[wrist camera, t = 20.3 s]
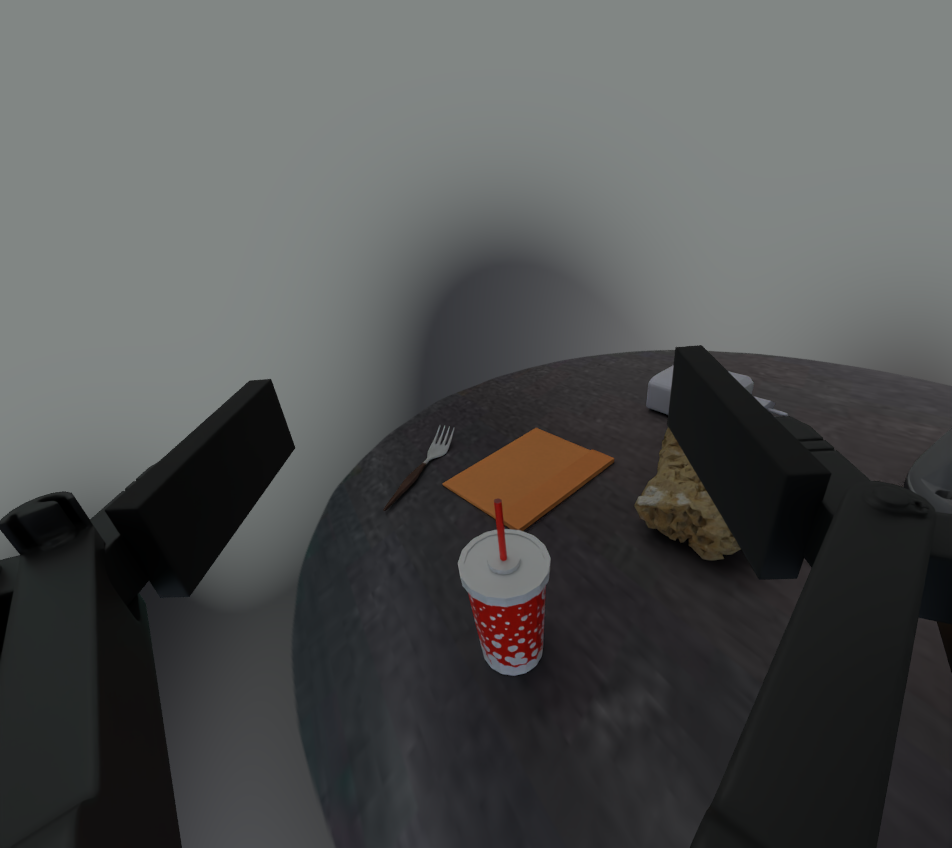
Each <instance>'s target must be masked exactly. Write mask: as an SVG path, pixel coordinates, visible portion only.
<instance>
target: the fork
mask: <svg viewBox="0 0 952 848" xmlns="http://www.w3.org/2000/svg"><path fill="white" fill-rule="evenodd" d="M440 426H441V425H440ZM440 426H439V429H440ZM439 429H438V431H437V434H436V436H435V438H434V441H433V443H432V445H431V446H430V448H429V450H428V454H427V455H428V457H427V459H426V460H425V461H424V462H423V463H422V464H421V465H420V466H419V467H417V468H416V469H415V470H414V471H413V472H412V473H411V474H410V475H409V476H408V477H407V478H406V479H405V480H404V481H403V483H402V484H401V485H400V487H399V488H398V490H397V491H396V493H395V494H394V495H393V497H392V498H391V499H390V501H389V502H388V503H387V505H386V506H385V508H384V510H383V511H385V510H387V509H388V508H389V507H390V506H391V505H392V504H393V503H394V502H395V501H396V500H397V499H398V498H399V497H400V496H401V495H402V494H403V493H404V492H405V491H406V490H407V489H408V488H410V487H411V486H412V485H413V483H414V482H415V481H416V480H417V478H418V477H419V475H420V474H421V472H422V471H423V469H424V467H425V466H426V464H427V463H428V462H429V461H430V460H431V459H434V458H438V457H441V456H443V455H445V454H446V453H447V451H448V449H449V446H450V443H451V440H452V436H453V432H454V429H455V427H454V428H453V431H452V434H451V436H450V439H449V441H448V443H447V445H446V446H445V443H446V439H447V436H448V432H449V429H450V426H449V428H448V431H447V434H446V436H445V439H444V441H443V443H442V445H440V443H441V439H442V436H443V433H444V429H445V426H444V428H443V431H442V434H441V436H440V438H439V441H438V443H437V444H435V443H436V439H437V436H438V433H439Z"/></svg>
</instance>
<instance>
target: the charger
mask: <svg viewBox="0 0 952 848" xmlns="http://www.w3.org/2000/svg"><path fill="white" fill-rule="evenodd" d="M673 367H674V365H673V366H671V367H670V368H668V369H666V370H664V371H662V372H661V373H659V374H657V375H655V376H654V377H653V378H652V379H651V380H650V382H649V384H648V392H647V403H646V406H647V408H650V409H653V410H656V411H659V412H661V413H664V414H667V415H668V412H669V403H670V394H671V385H672V376H673ZM728 372H729V371H728ZM729 373H730V374H731V375H732V376H733V377H734V378H735V379H736V380H737V381H738V382H739V383H740V384H741V385H742V386H743V387H744V388H745V389H746V390H747V391H748V392H749V393H750V394H751V395H752V390H753V386H754V383H753V381H752V380H751V378H750V377H748V376H745V375H741V374H737V373H733V372H729ZM755 398H756V399H757V400H758V401H759V402H760V403H761V404H762V405H763V406H764V407H765V408H766V409H767V410H768V411H769V412H770V413H775V414H778V415H782V416H787V415H788V413H785V412H781V411H778V410H775V409H773V408H774V406H775V402H772V401H769V400H765V399H761V398H758V397H755Z"/></svg>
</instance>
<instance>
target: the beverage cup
mask: <svg viewBox="0 0 952 848" xmlns="http://www.w3.org/2000/svg"><path fill="white" fill-rule="evenodd" d="M494 507H495V516H496V526H497V530H494V531H489V532H485V533H484V534H482V535H480V536H478V537H476V538H474V539H472V540H471V541H470V542H469V543H468V545H467V546H466V547H465V548H464V549H463V550H462V552H461V555H460V558H459V561H458V567H459V572H460V578H461V581H462V586H463V587H464V588H465V589H466V590H467V592H468V595H469V599H470V603H471V607H472V611H473V615H474V619H475V623H476V627H477V631H478V635H479V639H480V643H481V647H482V651H483V655H484V659H485V660H486V661H487V663H488V664H489V666H490V667H491V668H492V669H494V670H496V671H497V672H499V673H501V674H505V675H512V676H516V675H520V674H524V673H527V672H528V671H530V670H531V669H533V668H534V667H535V666H536V665H537V664H538V662H539V660H540V659H541V657H542V651H543V638H544V615H545V593H546V584H547V582H548V581H549V574H550V562H551V560H550V556H549V554H548V551H547V549H546V547H545V545H544V544H543V543H542V542H541V541H539V540H538V539H537V538H536V537H535V536H533V535H531V534H528V533H526V532H523V531H520V530H512V529H504V520H503V510H502V500H501V499H498V498H497V499H495V500H494Z"/></svg>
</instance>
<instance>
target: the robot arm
mask: <svg viewBox="0 0 952 848" xmlns="http://www.w3.org/2000/svg"><path fill="white" fill-rule="evenodd" d="M667 425H668V427H669V429H670V430H671V432H672V434H673V435H674V437H675V439H676V440H677V442H678V444H679V445H680V447H681V449H682V450H683V452H684V454H685V456H686V457H687V459H688V461H689V462H690V464H691V466H692V467H693V469H694V471H695V472H696V474H697V476H698V477H699V479H700V481H701V482H702V484H703V486H704V487H705V489H706V491H707V493H708V494H709V496H710V498H711V499H712V501H713V503H714V504H715V506H716V508H717V509H718V511H719V513H720V514H721V516H722V518H723V519H724V521H725V523H726V525H727V526H728V528H729V530H730V531H731V533H732V535H733V536H734V538H735V540H736V541H737V543H738V545H739V546H740V548H741V550H742V551H743V553H744V555H745V556H746V558H747V560H748V562H749V563H750V565H751V567H752V568H753V570H754V572H755V573H756V575H757V577H758V578H759V580H761V579H794V578H797V577H798V574H799V571H800V568H801V565H802V562H803V559H804V558H805V559H806V561H807V562H808V563H809V565H810V566H811V567H812V569H811V571H810V574H809V576H808V578H807V581H806V583H805V585H804V588H803V590H802V592H801V595H800V597H799V599H798V602H797V604H796V607H795V609H794V611H793V614H792V616H791V618H790V621H789V623H788V625H787V628H786V630H785V632H784V635H783V637H782V640H781V642H780V644H779V647H778V649H777V651H776V654H775V656H774V658H773V661H772V663H771V665H770V668H769V670H768V673H767V675H766V677H765V680H764V682H763V684H762V687H761V689H760V691H759V694H758V696H757V698H756V701H755V703H754V705H753V708H752V710H751V713H750V715H749V717H748V720H747V722H746V724H745V727H744V729H743V731H742V734H741V736H740V738H739V741H738V743H737V746H736V748H735V750H734V753H733V755H732V757H731V760H730V762H729V764H728V767H727V769H726V771H725V774H724V776H723V779H722V781H721V783H720V786H719V788H718V790H717V793H716V795H715V797H714V799H713V802H712V804H711V806H710V807H709V809H708V810H707V811H706V813H705V815H704V817H703V819H702V821H701V823H700V826H699V828H698V830H697V832H696V835H695V837H694V839H693V842H692V844H691V846H690V848H876V847H877V841H878V836H879V830H880V825H881V819H882V814H883V808H884V803H885V797H886V792H887V786H888V781H889V776H890V770H891V765H892V759H893V754H894V748H895V743H896V737H897V732H898V726H899V721H900V715H901V710H902V704H903V699H904V693H905V688H906V682H907V677H908V672H909V666H910V661H911V655H912V650H913V644H914V639H915V633H916V628H917V622H918V617H919V618H924V619H928V620H933V621H937V623H938V627H939V630H940V634H941V637H942V641H943V644H944V648H945V651H946V655H947V658H948V662H949V665H950V669H951V672H952V428H951V429H950V430H949V431H948V432H946V433H945V434H944V435H943V436H942V437H941V438H940V439H939V440H938V441H937V442H936V443H934V444H933V445H932V446H931V447H930V448H929V449H928V450H927V451H926V452H925V453H924V454H922V455H921V456H920V457H919V458H918V459H917V460H916V462H915V463H914V465H913V466H912V467H911V469H910V471H909V473H908V475H907V478H906V480H905V483H904V488H903V487H900V486H897V485H894V484H889V483H884V482H879V481H870V480H869V479H868V478H867V477H866V476H865V475H864V474H863V473H862V472H860V471H859V470H858V469H857V468H856V467H855V466H854V465H853V464H852V463H850V462H849V461H848V460H847V459H846V458H845V457H844V456H843V455H841V454H840V453H839V452H838V451H835V450H834V447H833V446H831V445H830V444H829V443H828V442H827V441H826V440H824V441H823V437H821V436H820V435H819V434H818V433H817V432H816V431H815V430H814V429H813V428H811V427H810V426H809V425H807V424H805V423H803V422H800V421H798V420H796V419H794V418H792V417H790V416H784V417H774V416H773V415H772V414H771V413H770V412H769V411H768V410H767V409H766V408H765V407H764V406H763V405H762V404H761V403H760V402H759V401H758V400H757V399H756V398H755V397H754V396H753V395H751V394H750V393H749V392H748V391H747V390H746V389H745V388H744V387H743V386H742V385H741V384H740V383H739V382H738V381H737V380H736V379H735V378H734V377H733V376H732V375H731V374H730V373H729V372H728V371H727V370H726V369H725V368H724V367H723V366H722V365H721V364H720V363H719V362H718V361H717V360H716V359H715V358H714V357H713V356H712V355H711V354H710V353H709V352H708V351H707V350H706V349H705V348H704V347H703V346H701V345H700V346H687V347H676V349H675V358H674V367H673V376H672V385H671V394H670V403H669V412H668V421H667ZM294 449H295V446H294V443H293V440H292V437H291V434H290V431H289V429H288V426H287V423H286V420H285V417H284V414H283V412H282V409H281V406H280V403H279V400H278V397H277V394H276V392H275V389H274V386H273V383H272V381H271V379H267V380H254V381H249V382H248V383H246V384H245V385H244V386H243V387H242V388H241V389H240V390H239V391H238V392H236V393H235V394H234V395H233V396H232V397H231V398H230V399H229V400H227V401H226V402H225V403H224V404H223V405H222V406H221V407H220V408H218V410H216V411H215V412H214V413H213V414H212V415H211V416H209V417H208V418H207V419H206V420H205V421H204V422H203V423H202V424H200V425H199V426H198V427H197V428H196V429H195V430H194V431H193V432H192V433H190V434H189V435H188V436H187V437H186V438H185V439H184V440H183V441H181V443H179V444H178V445H177V446H176V447H175V448H174V449H172V450H171V451H170V452H169V453H168V454H167V455H166V456H165V457H163V458H162V459H161V460H160V461H159V462H158V463H156V464H154V465H152V466H151V467H149V468H148V469H147V470H146V471H145V472H143V474H141V475H140V476H139V477H138V478H137V479H136V481H134V482H132V483H131V484H130V485H129V486H128V487H127V488H126V489H125V491H122V492H121V493H120V494H119V495H117V496H116V497H115V498H114V499H113V500H112V501H111V502H110V503H108V504H107V505H106V506H105V507H104V508H103V509H102V510H101V511H99V512H98V513H97V514H96V515H95V516H94V517H93V518H91V519H89V518H88V516H87V515H86V514H85V512H84V510H83V509H82V507H81V506H80V504H79V503H78V502H77V500H76V498H75V497H74V496H73V494H72V493H69V492H56V493H51V494H47V495H44V496H41V497H38V498H35V499H33V500H31V501H28V502H26V503H24V504H22V505H20V506H19V507H17V508H15V509H14V510H12V511H11V512H9V513H8V514H7V515H6V516H5V517H3V518H2V519H1V520H0V530H1V531H2V533H4V535H5V536H6V538H7V539H8V540H9V541H10V543H11V544H12V545H13V546H14V547H15V549H16V550H17V551H18V552H19V554H20V555H19V556H15V557H11V558H7V559H3V560H0V848H182V846H181V839H180V832H179V825H178V819H177V812H176V805H175V799H174V791H173V785H172V778H171V772H170V764H169V758H168V751H167V744H166V738H165V731H164V724H163V717H162V710H161V703H160V697H159V690H158V683H157V676H156V670H155V663H154V657H153V650H152V643H151V636H150V629H149V622H148V617H147V616H148V615H147V609H146V604H145V602H144V600H143V598H142V597H141V596H140V594H139V592H140V591H141V589H142V588H143V587H144V586H145V585H146V583H147V582H148V581H150V582H151V584H152V586H153V587H154V589H155V590H156V592H157V593H158V595H159V596H160V598H163V597H190V595H191V594H192V592H193V591H194V589H195V588H196V587H197V585H198V584H199V582H200V581H201V580H202V578H203V577H204V576H205V574H206V573H207V571H208V570H209V569H210V567H211V566H212V564H213V563H214V562H215V560H216V559H217V557H218V555H220V553H221V552H222V550H223V549H224V547H225V546H226V545H227V543H228V542H229V540H230V539H231V537H232V536H233V535H234V533H235V532H236V531H237V529H238V528H239V526H240V525H241V524H242V522H243V521H244V519H245V518H246V517H247V515H248V514H249V512H250V511H251V510H252V508H253V507H254V505H255V504H256V502H257V501H258V500H259V498H260V497H261V495H262V494H263V493H264V491H265V490H266V488H267V487H268V486H269V484H270V483H271V481H272V480H273V478H274V477H275V475H276V474H277V473H278V472H279V470H280V469H281V467H282V466H283V465H284V463H285V462H286V460H287V459H288V457H289V456H290V455H291V453H292V452H293V450H294Z"/></svg>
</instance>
